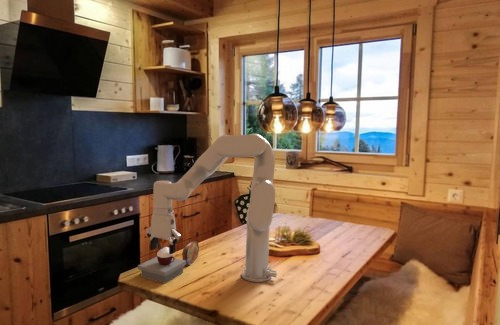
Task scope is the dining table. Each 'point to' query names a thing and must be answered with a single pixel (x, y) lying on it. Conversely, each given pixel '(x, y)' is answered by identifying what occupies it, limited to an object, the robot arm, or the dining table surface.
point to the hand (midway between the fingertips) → (162, 251)
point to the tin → (190, 252)
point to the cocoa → (164, 254)
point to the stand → (161, 270)
